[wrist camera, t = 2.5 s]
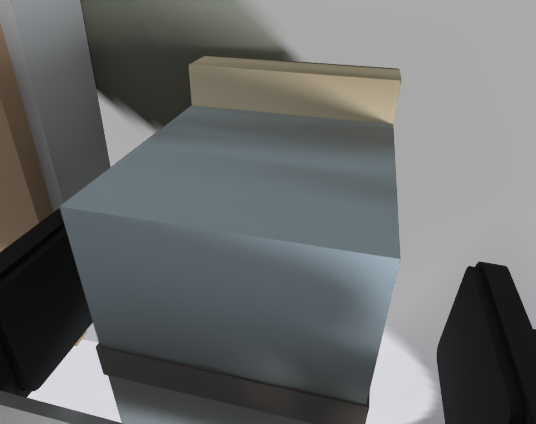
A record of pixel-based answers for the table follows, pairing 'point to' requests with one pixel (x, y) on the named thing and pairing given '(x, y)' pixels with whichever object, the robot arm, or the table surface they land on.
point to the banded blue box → (247, 248)
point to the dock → (45, 114)
